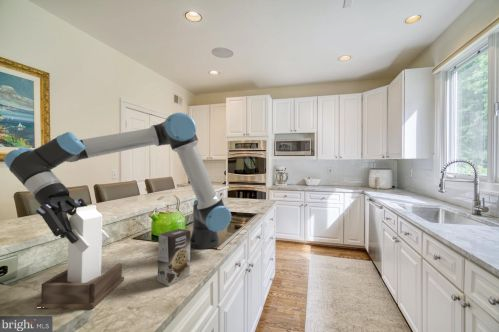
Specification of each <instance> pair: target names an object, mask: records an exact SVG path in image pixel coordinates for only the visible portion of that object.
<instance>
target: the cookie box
mask: <svg viewBox="0 0 499 332" xmlns="http://www.w3.org/2000/svg"><path fill="white" fill-rule="evenodd" d="M191 233H192V231H191V230H189V229H183V228H176V229H174V230H169V231H165V232H161V233H158V251H157V282H158V283H161V284H163V285H165V286H167V287H171V286H172V285H175V284H176V283H178V282H179V281H182V280H183V279H185V278H187V277H189V276H190V274H191V273H190V272H191V271H190V270H191V268H190V267H191V264H190V263H191V247H190V237H191Z"/></svg>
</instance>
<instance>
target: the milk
mask: <svg viewBox="0 0 499 332" xmlns="http://www.w3.org/2000/svg"><path fill="white" fill-rule="evenodd" d="M103 216H104V215H102V213H101V212H99V211H98V210H97V205H96V204H92V205H87V206H85V207H78V208H76V213H75V214H74V215H72V216H71V215H70V217H68V219H69V222H70V224H71V227H72V231H73V230H74V229H76V230H77V231H78V232H79V233H80V234H81V236H82V237H83V238H84V239H85V240H86V241H87V242H88V243H89V245H90V246H89V247H88V248H87V249H86V250H85V251H84V252H82V253H81V252H80V250H79V249H78V248H77V247H76V246H75V245H74V244H72V243H71V242H70V241H69V240H68V245H67V252H68V253H67V269H68V275H67V281H68V282H72V283H86V282H88V281H91V280H93V279H95V278H97V277H100V276H102V252H103V251H102V249H103V248H102V247H103V243H102V228H103Z"/></svg>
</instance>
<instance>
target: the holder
mask: <svg viewBox="0 0 499 332" xmlns="http://www.w3.org/2000/svg"><path fill="white" fill-rule="evenodd" d="M122 274H123V263H122V262H118V263H116V265H114V266H113V267H111V268H110V269H109V270H108V271H106V272H104V273H103V274H101V276H99V277H97V278H95V279H93V280H91V281H88V282H86V283H72V282H68V281H67V275H68V268H67V269H66V270H63V271H62V272H59V273H58V274H57V275H54V276H53V277H52V278H49V279H48V280H46V281H44V282H43V283H41V290H40V291H41V293H40V295H41V296H40V298H41V299H40V302H38V303H36V308H37V307H41V308H43V307H44V308H76V309H75V310H87V309H88V310H89V309H91V310H92V309H94V308H96V307H97V306H98V305H99V304H101V302H102V301H103V300H104V299H105V298H106V297H108V296H109V295H110V294H111V293H112V292H113V291H114V290H116V289H117V288H118V287H119V286H120V285H121V284H122V283H123V282H124V281H125V277H124V276H123V275H122Z"/></svg>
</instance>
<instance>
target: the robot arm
mask: <svg viewBox="0 0 499 332" xmlns="http://www.w3.org/2000/svg"><path fill="white" fill-rule="evenodd" d="M196 132H197V125H196V122H195V120H194V119H193V117H192V116H190V115H189V114H188V113H184V112H174V113H172V114H171V115H170V114H169V116H167V117H166V119H165V120H164V121H162V122H160V123H158V124H157V123H156V124H153V125H151V126H150V127H149V128H143V129H136V130H130V131H124V132H120V133H119V132H118V133H113V134H107V135H100V136H94V137H89V138H83V139H79V138H78V137H77V136H76V135H75V134H74V133H73V132H70V131H67V132H65V133H63V134H59V135H57V137H55V138H52V139H51V140H49V141H47V142H46V143H44V144H42V145H40V146H39V147H36V148H35V149H31V148H29V147H20V148H18V149H13V150H10V151H9V152H7V154H5V156H4V158H3V162H4V164H5V165H6V167H7V168H8V169H9V171H10V172H11V174H13V175H14V176H15V177H16V178H17V179H18V180H19V181H20V183H21V184H22V185H23V186H24V187H25V188H26V190H27V191H28V192H29V193H30V194H31V196H32V197H34V199H35V200H36V202H38V204H39V205H40V206H39V207H38V208H37V209H36V210H35V212H36V213H37V214H38V216H40V217H42V219H43V220H44V222H45V223H46V225H47V226H48V228H49V230H50V231H51V233H52V234H53V236H55V237H60V238H62V239H64V238H66V239H67V241H68V242H69V241H70V242H71V243H72V244H74V245H75V246H76V247H77V248H78V249H79V250H80V252H81V253H82V252H84V251H85V250H86V249H87V248H88V247H89V246H90V245H89V243H88V242H87V241H86V240H85V239H84V238H83V237H82V236H81V234H80V233H79V232H78V231H77V230H76V229H74V230H73V231H72V227H71V224H70V222H69V217H68V215H69V216H70V217H71V216H73V215H74V214H75V213H76V208H78V207H85V206H88V205H87V204H86V203H85V200H84V199H83V198H79V199H77V200H76V199H74V198H72V197H71V196H70V191H69V189H68V188H67V187H66V185H64V184H63V183H62V180H60V179H59V178H58V177H57V175H56V174H55V173H54V172H53V171H52V170H53V169H55V168H56V167H58V166H60V165H61V164H64V163H65V162H67V163H74V162H79V160H80V161H81V160H85V159H86V160H87V159H88V158H89V159H90V158H94V157H99V156H103V155H104V156H105V155H110V154H115V153H119V152H124V151H129V150H133V149H138V148H144V147H149V146H156V147H160V146H161V147H162V146H168V145H169V146H170V148H171V151H174V153H177V155H178V158H179V159H180V162H181V165H182V168H183V169H184V172H185V173H186V176H187V179H188V180H189V184H190V186H191V188H192V191H193V192H194V195H195V198H196V199H195V200H194V201H193V204H192V208H193V210H192V211H193V213H192V214H193V215H192V217H193V218H192V219H193V220H192V231H191V233H190V248H193V249H199V250H205V249H206V250H207V249H213V248H215V247H218V246H219V245H220V236H219V233H220V232H223V231H224V230H226V229H227V228H228V227H229V225H230V223H231V221H232V213H231V211H230V209H229V208H228V207H227V206H226V205H225V204H224V201H223V199H222V197H221V196H219V195H217V194H216V191H215V188H214V186H213V183H212V181H211V178H210V176H209V174H208V173H209V172H208V171H207V168H206V166H205V163H204V161H203V158H202V156H201V153H200V151H199V148H198V143H199V139H198V136H197V134H196ZM108 239H110V236H109V235H108V233H107V232H106V231H105V230H104V228H103V227H102V244H104V243H105V242H106V241H107V240H108Z"/></svg>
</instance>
